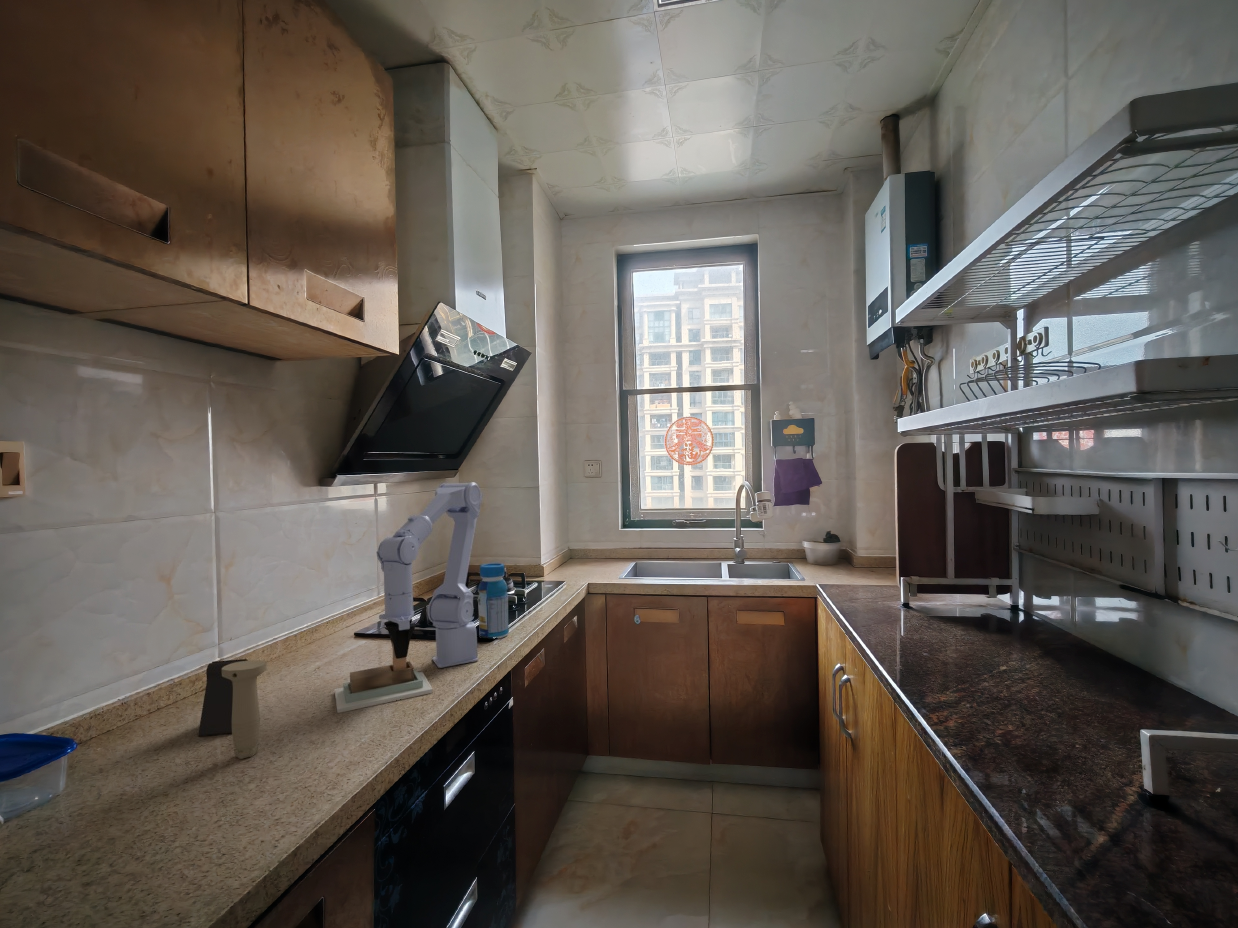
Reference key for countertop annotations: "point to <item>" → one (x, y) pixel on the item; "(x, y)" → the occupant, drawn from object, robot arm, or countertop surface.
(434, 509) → the robot arm
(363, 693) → the cradle
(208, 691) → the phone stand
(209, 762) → the countertop surface
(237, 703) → the handle
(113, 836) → the countertop surface
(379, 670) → the tan box sleeve
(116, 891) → the countertop surface
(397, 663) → the tan square block
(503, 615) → the beverage bottle
